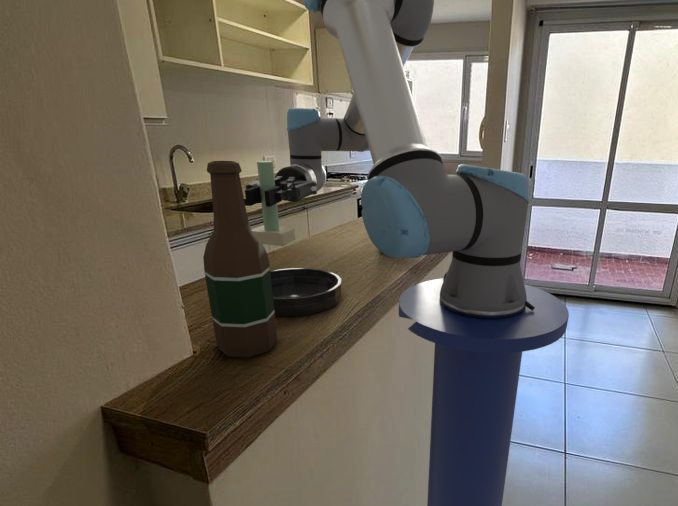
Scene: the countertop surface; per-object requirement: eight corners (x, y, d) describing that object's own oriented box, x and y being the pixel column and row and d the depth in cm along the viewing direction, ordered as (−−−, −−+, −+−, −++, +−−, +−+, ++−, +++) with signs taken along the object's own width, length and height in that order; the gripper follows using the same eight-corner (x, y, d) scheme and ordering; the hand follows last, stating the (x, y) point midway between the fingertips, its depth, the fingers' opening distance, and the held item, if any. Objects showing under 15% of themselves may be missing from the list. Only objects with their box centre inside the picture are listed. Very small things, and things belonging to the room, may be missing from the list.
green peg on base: (295, 239, 90) (288, 161, 84) (283, 246, 85) (275, 163, 79) (263, 237, 91) (254, 159, 85) (250, 243, 86) (239, 161, 80)
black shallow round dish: (354, 288, 84) (354, 272, 82) (319, 322, 69) (318, 303, 68) (275, 280, 87) (273, 264, 85) (225, 311, 72) (222, 292, 71)
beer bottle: (289, 340, 63) (272, 161, 54) (249, 364, 57) (222, 165, 47) (247, 329, 66) (224, 158, 57) (204, 351, 59) (170, 161, 50)
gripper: (331, 200, 102) (303, 221, 81) (262, 198, 102) (216, 218, 81) (329, 166, 99) (300, 178, 78) (259, 164, 100) (210, 174, 78)
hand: (257, 198), depth 79 cm, fingers closed on green peg on base, 3 cm apart
